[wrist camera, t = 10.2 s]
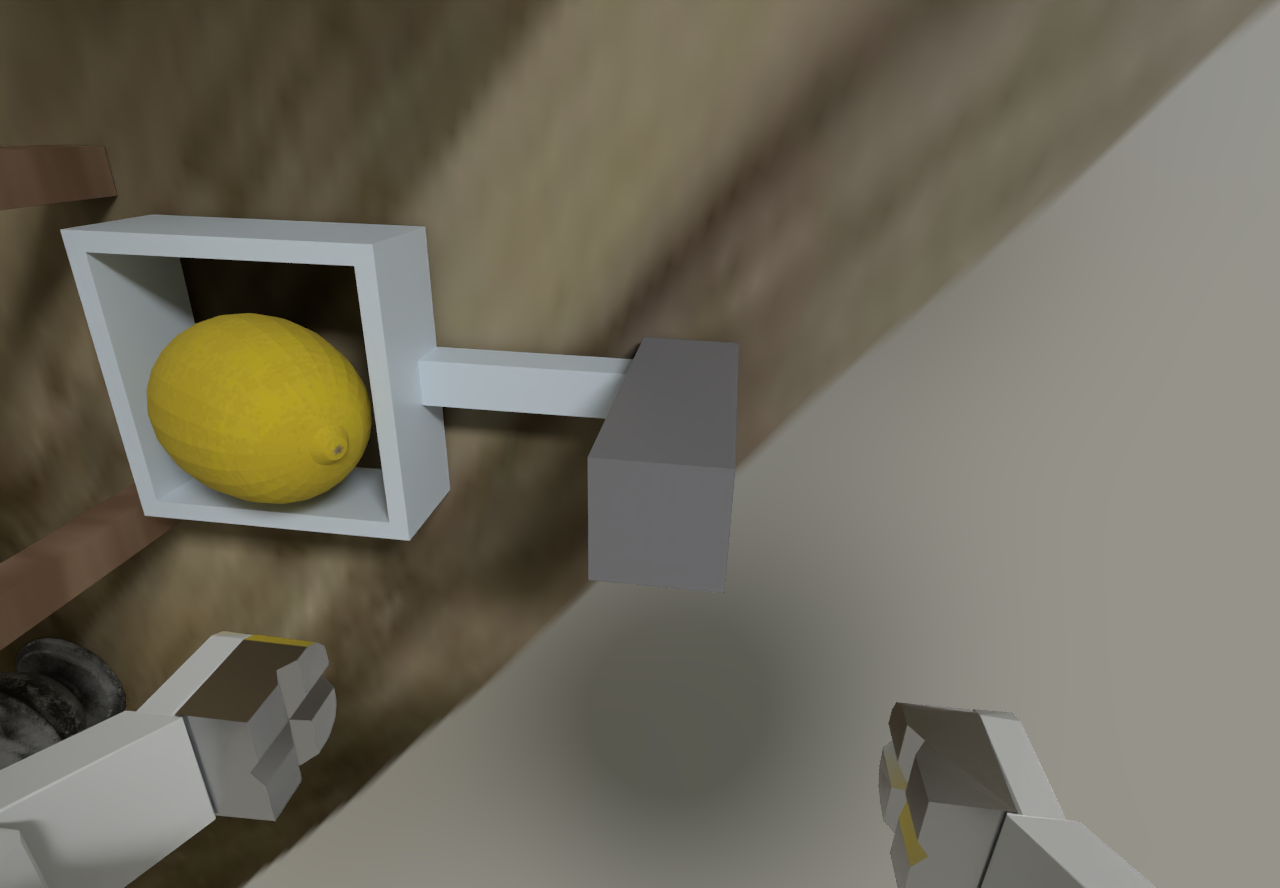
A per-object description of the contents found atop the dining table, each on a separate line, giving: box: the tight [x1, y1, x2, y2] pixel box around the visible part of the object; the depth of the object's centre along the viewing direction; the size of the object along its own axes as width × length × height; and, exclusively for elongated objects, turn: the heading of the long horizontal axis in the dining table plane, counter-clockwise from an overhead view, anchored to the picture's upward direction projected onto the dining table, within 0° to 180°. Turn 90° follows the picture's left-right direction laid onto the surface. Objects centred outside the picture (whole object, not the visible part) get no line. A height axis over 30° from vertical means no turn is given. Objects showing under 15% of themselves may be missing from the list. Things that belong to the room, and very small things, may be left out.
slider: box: [60, 214, 739, 593], centre depth 20 cm, size 19×9×9 cm, turn 89°
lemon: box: [147, 313, 372, 504], centre depth 22 cm, size 6×6×8 cm
